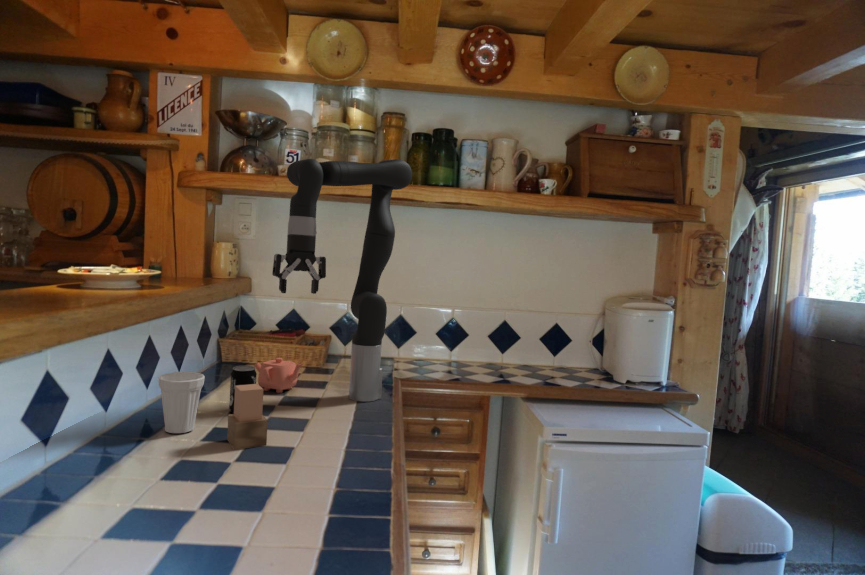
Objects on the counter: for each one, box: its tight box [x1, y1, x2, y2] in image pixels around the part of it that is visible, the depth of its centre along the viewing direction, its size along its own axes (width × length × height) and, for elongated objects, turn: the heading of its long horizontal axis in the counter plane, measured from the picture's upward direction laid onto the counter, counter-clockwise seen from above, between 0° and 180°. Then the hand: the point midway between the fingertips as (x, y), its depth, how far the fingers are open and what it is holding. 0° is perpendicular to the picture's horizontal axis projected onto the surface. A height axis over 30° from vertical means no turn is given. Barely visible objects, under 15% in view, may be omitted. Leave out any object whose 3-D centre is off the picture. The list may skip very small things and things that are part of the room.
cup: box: [158, 371, 206, 434], centre depth 124 cm, size 10×10×13 cm
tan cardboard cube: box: [233, 383, 264, 422], centre depth 119 cm, size 5×5×7 cm
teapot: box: [253, 357, 304, 394], centre depth 166 cm, size 14×12×10 cm
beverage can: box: [229, 365, 257, 414], centre depth 142 cm, size 7×7×12 cm
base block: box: [226, 413, 268, 451], centre depth 119 cm, size 7×7×6 cm
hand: (298, 293), depth 142 cm, fingers open, 8 cm apart
